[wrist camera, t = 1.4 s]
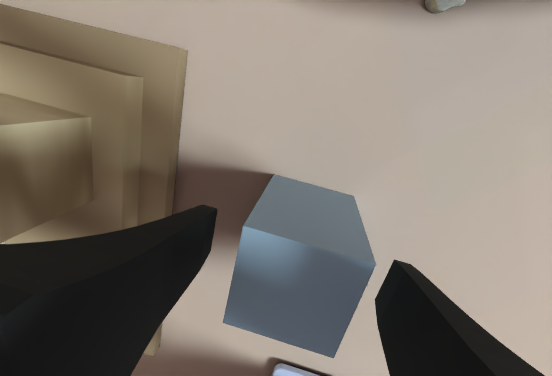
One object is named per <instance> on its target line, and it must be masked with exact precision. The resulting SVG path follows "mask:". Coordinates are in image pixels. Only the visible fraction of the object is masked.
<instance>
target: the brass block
mask: <svg viewBox="0 0 552 376" xmlns="http://www.w3.org/2000/svg"><path fill="white" fill-rule="evenodd" d="M93 200H94V198H93V164H92V130H91V117H90V116H86V115H82V114H79V113H75V112H71V111H68V110H64V109H60V108H57V107H53V106H49V105H46V104H42V103H38V102H35V101H31V100H27V99H24V98H20V97H16V96H12V95H9V94H0V243H2V242H4V241H6V240H8V239H11V238H13V237H15V236H17V235H19V234H21V233H24V232H26V231H28V230H30V229H32V228H34V227H37V226H39V225H41V224H43V223H45V222H47V221H50V220H52V219H54V218H56V217H58V216H60V215H62V214H65V213H67V212H69V211H71V210H73V209H75V208H78V207H80V206H82V205H84V204H86V203H88V202H91V201H93Z"/></svg>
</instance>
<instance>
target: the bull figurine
mask: <svg viewBox="0 0 552 376" xmlns="http://www.w3.org/2000/svg"><path fill="white" fill-rule="evenodd" d="M465 2H466V0H425V5H426V8H427V9H428V10H429V11H430V12H433V13H440V12H443V11H445V10H446V9H448V8H450V7H452V6H462V5H463V4H464V3H465Z"/></svg>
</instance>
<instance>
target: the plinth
mask: <svg viewBox="0 0 552 376" xmlns="http://www.w3.org/2000/svg"><path fill="white" fill-rule="evenodd" d="M187 53H188V51H187V50H184V49H181V48H178V47H174V46H170V45H166V44H162V43H158V42H153V41H149V40H145V39H141V38H137V37H133V36H129V35H125V34H121V33H117V32H113V31H109V30H104V29H100V28H96V27H92V26H88V25H84V24H80V23H76V22H72V21H68V20H64V19H60V18H56V17H51V16H47V15H43V14H39V13H35V12H31V11H27V10H23V9H19V8H15V7H11V6H7V5H2V4H0V94H9V95H12V96H16V97H20V98H24V99H27V100H31V101H35V102H38V103H42V104H46V105H49V106H53V107H57V108H60V109H64V110H68V111H71V112H75V113H79V114H82V115H86V116H90V117H91V130H92V164H93V198H94V200H93V201H91V202H88V203H86V204H84V205H82V206H80V207H78V208H75V209H73V210H71V211H69V212H67V213H65V214H62V215H60V216H58V217H56V218H54V219H52V220H50V221H47V222H45V223H43V224H41V225H39V226H37V227H34V228H32V229H30V230H28V231H26V232H24V233H21V234H19V235H17V236H15V237H13V238H11V239H8V240H6V241H5V243H6V244H16V243H31V242H44V241H54V240H63V239H71V238H77V237H84V236H91V235H98V234H104V233H109V232H113V231H118V230H123V229H127V228H131V227H135V226H139V225H142V224H145V223H149V222H152V221H156V220H159V219H162V218H165V217H168V216H171V215H172V211H173V201H174V190H175V180H176V169H177V158H178V148H179V137H180V127H181V116H182V106H183V95H184V84H185V74H186V63H187ZM161 328H162V323H161V325H160V326H159V328H158V329H157V331H156V333H155V334H154V336H153V338H152V339H151V341H150V343H149V344H148V346H147V348H146V349H145V351H144V353H143V354H146V355H149V356H152V357H153V356H154V355H155V353H156V351H157V350H158V348H159V347H160V338H161Z"/></svg>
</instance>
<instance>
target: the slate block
mask: <svg viewBox="0 0 552 376" xmlns="http://www.w3.org/2000/svg"><path fill="white" fill-rule="evenodd" d="M375 266H376V263H375V260H374V257H373V254H372V250H371V247H370V244H369V241H368V238H367V235H366V232H365V229H364V226H363V223H362V220H361V217H360V214H359V211H358V208H357V204H356V201H355V198H354V196H351V195H348V194H344V193H340V192H337V191H333V190H330V189H326V188H322V187H319V186H315V185H311V184H308V183H304V182H300V181H297V180H293V179H289V178H286V177H282V176H278V175H275V174H274V175H273V177H272V178H271V180H270V182H269V183H268V185H267V187H266V188H265V190H264V192H263V194H262V195H261V197H260V199H259V200H258V202H257V204H256V205H255V207H254V209H253V210H252V212H251V214H250V215H249V217H248V219H247V220H246V222H245V224H244V225H243V229H242V234H241V239H240V243H239V248H238V253H237V258H236V262H235V267H234V272H233V277H232V281H231V286H230V291H229V296H228V300H227V305H226V310H225V315H224V319H223V323H225V324H228V325H231V326H235V327H238V328H241V329H244V330H247V331H250V332H253V333H256V334H260V335H263V336H266V337H269V338H272V339H275V340H278V341H281V342H284V343H288V344H291V345H294V346H297V347H300V348H303V349H306V350H309V351H313V352H316V353H319V354H322V355H325V356H328V357H331V358H334V356H335V354H336V352H337V350H338V348H339V345H340V343H341V341H342V339H343V336H344V334H345V332H346V330H347V328H348V325H349V323H350V321H351V319H352V317H353V314H354V312H355V310H356V308H357V306H358V303H359V301H360V299H361V297H362V294H363V292H364V290H365V288H366V286H367V283H368V281H369V279H370V277H371V275H372V272H373V270H374V268H375Z"/></svg>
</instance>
